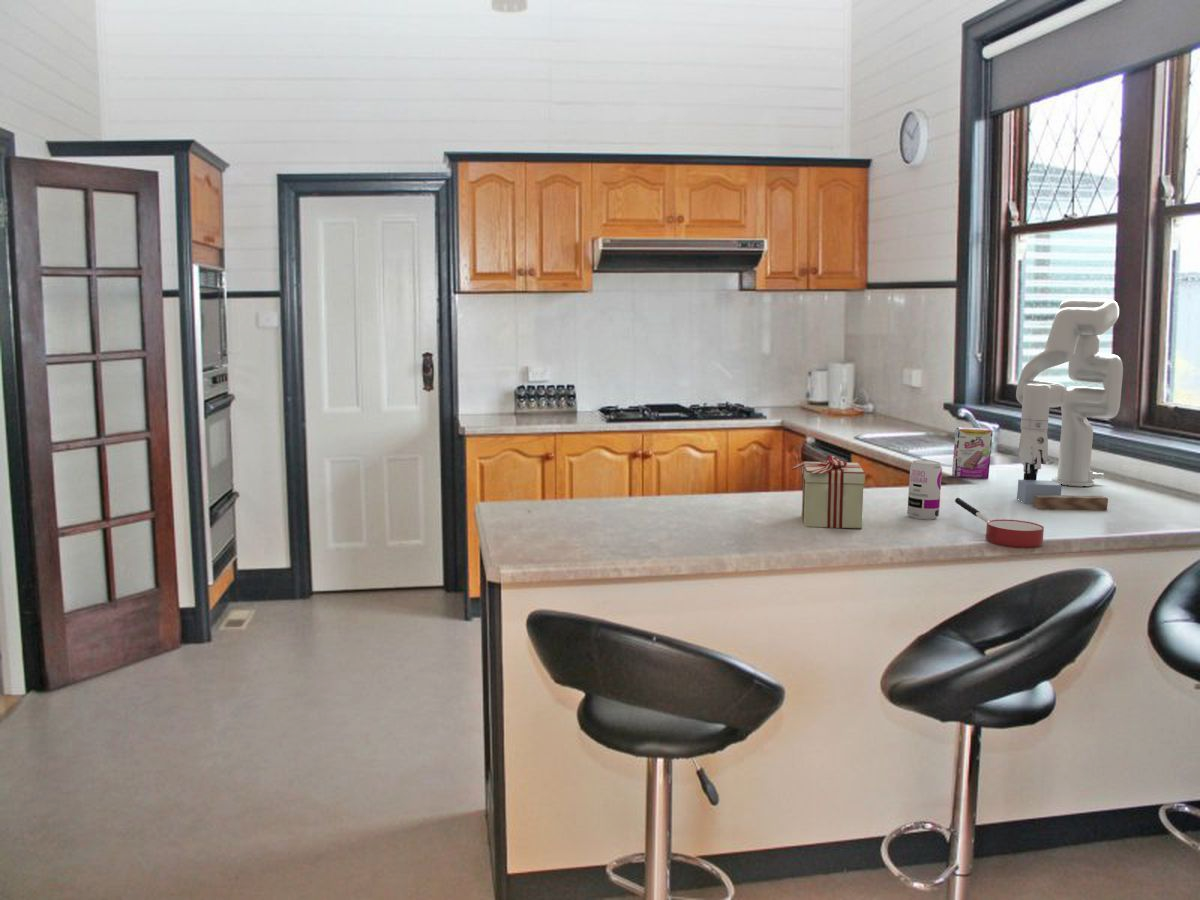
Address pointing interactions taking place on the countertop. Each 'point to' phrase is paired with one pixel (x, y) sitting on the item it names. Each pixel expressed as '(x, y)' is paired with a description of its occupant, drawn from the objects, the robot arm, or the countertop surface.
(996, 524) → the frying pan
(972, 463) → the candy bar box
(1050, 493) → the block
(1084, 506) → the board
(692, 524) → the countertop surface
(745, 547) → the countertop surface
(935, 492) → the supplement can
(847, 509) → the gift box
